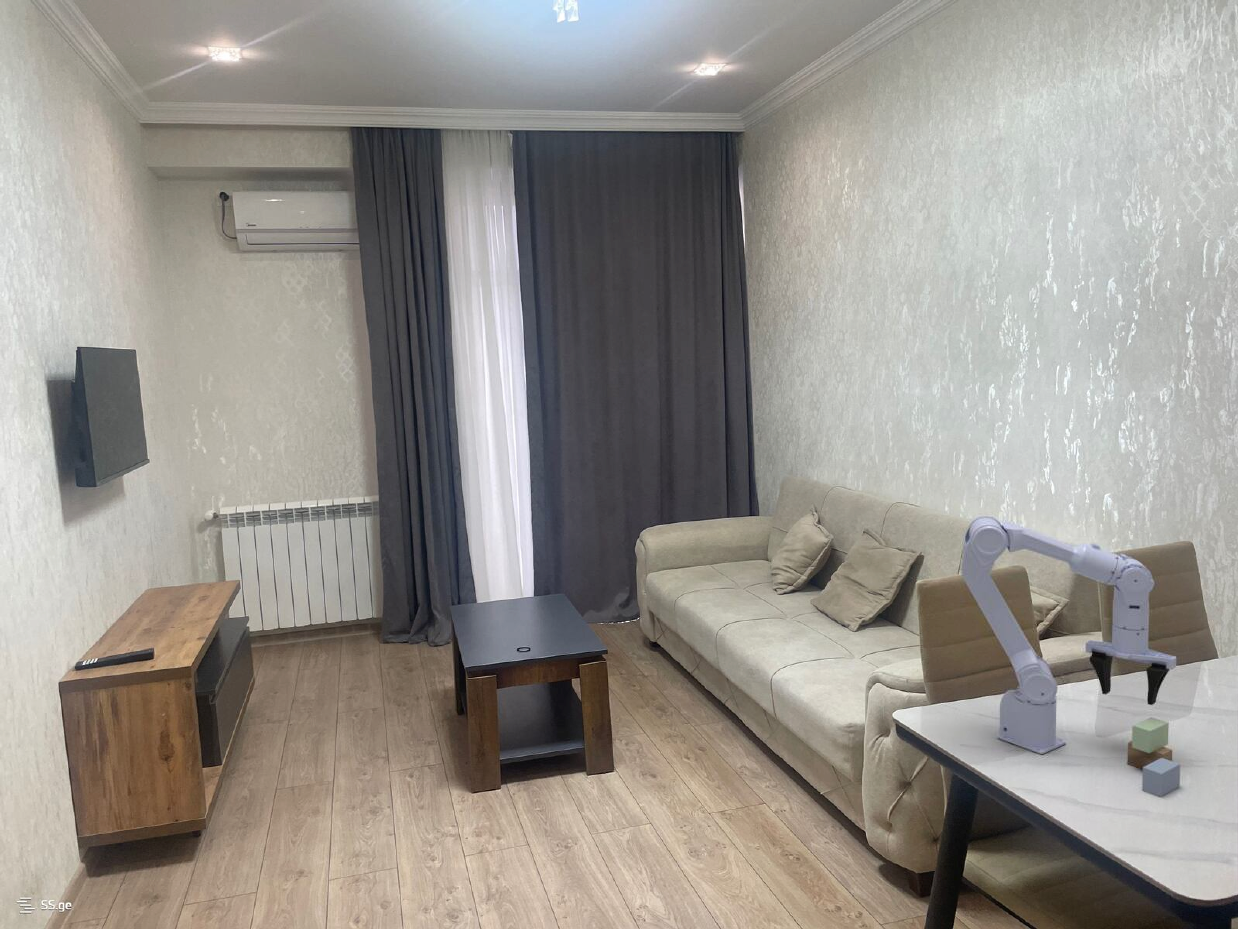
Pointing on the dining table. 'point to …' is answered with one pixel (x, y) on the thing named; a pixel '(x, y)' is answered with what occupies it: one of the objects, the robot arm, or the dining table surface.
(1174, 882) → the dining table surface
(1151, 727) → the sage brick
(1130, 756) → the walnut brick
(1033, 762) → the dining table surface
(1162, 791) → the slate brick
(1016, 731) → the robot arm
